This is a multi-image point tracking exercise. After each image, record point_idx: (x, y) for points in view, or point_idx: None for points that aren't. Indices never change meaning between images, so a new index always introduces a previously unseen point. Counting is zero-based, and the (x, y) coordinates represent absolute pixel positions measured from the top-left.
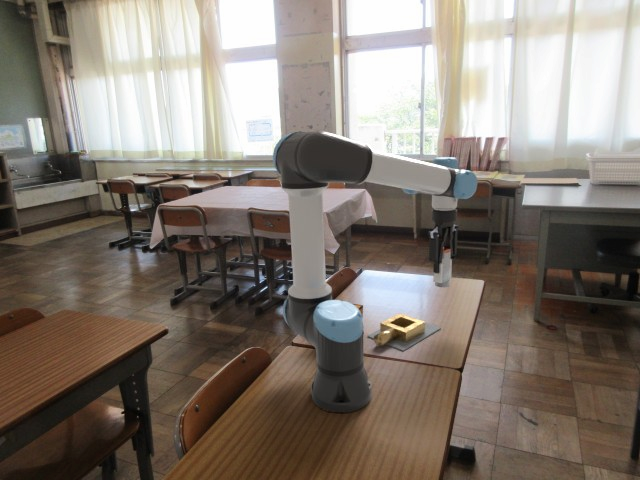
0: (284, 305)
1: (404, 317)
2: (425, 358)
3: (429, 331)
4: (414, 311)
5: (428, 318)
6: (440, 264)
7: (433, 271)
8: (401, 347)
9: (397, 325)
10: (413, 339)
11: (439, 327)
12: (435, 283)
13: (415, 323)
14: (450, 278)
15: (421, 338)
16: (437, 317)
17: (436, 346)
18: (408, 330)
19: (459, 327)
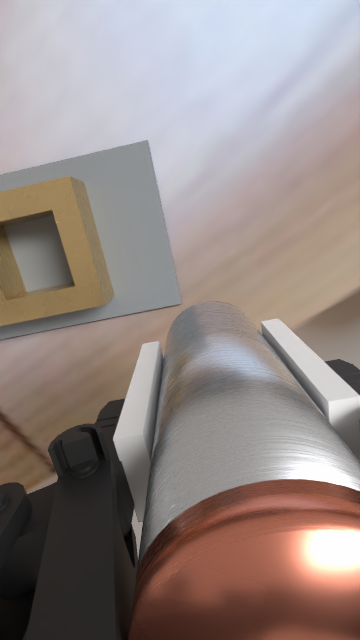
0: None
1: (61, 225)
2: (19, 401)
3: (131, 300)
4: (216, 117)
5: (211, 211)
6: (137, 503)
7: (102, 409)
8: None
9: (43, 215)
10: None
11: (179, 299)
12: (169, 332)
13: (65, 294)
14: None
15: (76, 321)
16: (244, 226)
17: (88, 374)
18: (9, 321)
19: None
